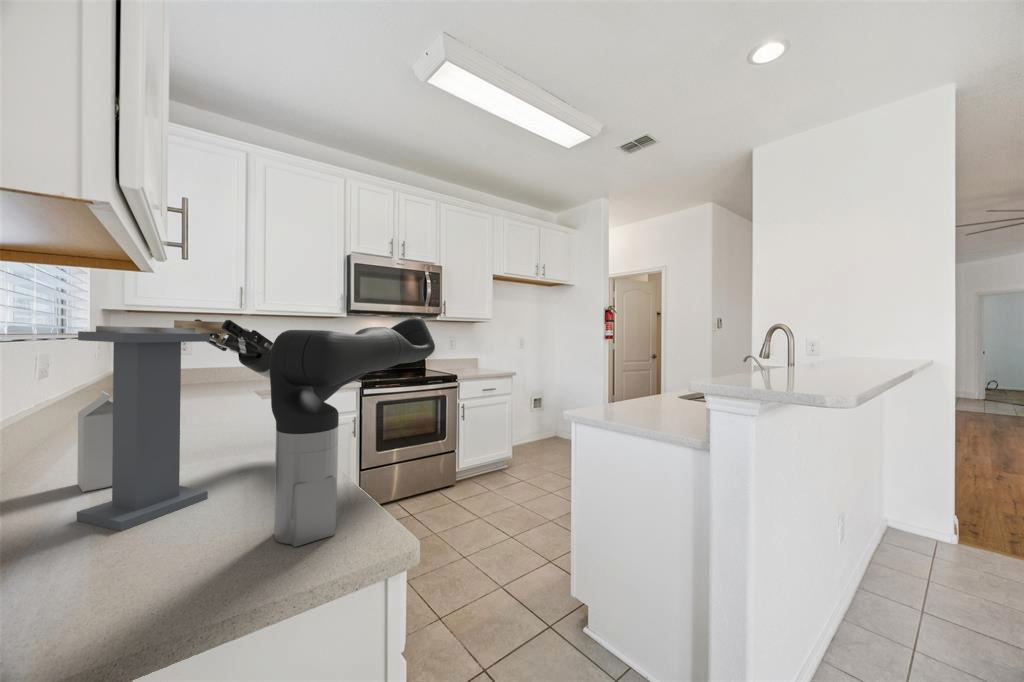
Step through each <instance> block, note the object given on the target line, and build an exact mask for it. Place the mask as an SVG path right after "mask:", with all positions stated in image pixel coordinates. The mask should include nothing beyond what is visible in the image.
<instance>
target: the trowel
mask: <svg viewBox="0 0 1024 682" xmlns="http://www.w3.org/2000/svg"><path fill="white" fill-rule="evenodd" d="M224 322H225V321H206V320H204V321H203V320H201V321H194V320H179V319H177V320H173V327H169V326H167V327H163V326H162V327H161V326H160V327H159V326H118V325H116V326H114V325H113V326H112V325H108V326H106V325H95V332H112V333H217V334H218V333H228V332H226V331H225V330H223V329H222V325H223V324H224Z"/></svg>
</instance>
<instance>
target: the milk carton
mask: <svg viewBox="0 0 1024 682" xmlns="http://www.w3.org/2000/svg"><path fill="white" fill-rule="evenodd" d="M112 457H113V400H110V394H109V393H107V392H106V391H104V390H102V391H101V396H100V397H98V398H96V399H95V400H94V401H92V402H91V403H90V404H88V405H86V406H85V407H83V408H82V409H80V410H79V411H77V485H78V487H79V488H80V490H81V492H83V493H84V492H89V491H95V490H101V489H104V488H110V487H112Z"/></svg>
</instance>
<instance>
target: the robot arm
mask: <svg viewBox="0 0 1024 682" xmlns="http://www.w3.org/2000/svg"><path fill="white" fill-rule="evenodd" d="M193 321H202V320H201V319H198V318H197V319H194V320H193ZM223 322H224V324H223V325H222V329H223V330H225V331H226V332H228V333H202V334H210V342H207V343H208V344H210V345H211V346H214V347H216V349H219V350H220V351H222V352H226V351H227V350H229V351H230V352H232V353H235V354H238V361H239V363H240V364H241V365H243V366H244V367H247V368H249V369H250V370H252V371H254V373H257V374H259V375H261V376H263V377H264V378H266V379H269V381H270V382H269V383H270V403H271V404H270V405H271V412H272V414H273V417H274V421H275V452H274V454H275V456H274V457H275V458H274V459H275V461H274V465H275V466H274V473H275V474H274V528H273V529H274V531H273V532H274V533H273V534H274V535H273V536H274V539H275V540H276V541H277V542H279V543H281V544H287V545H292V546H293V547H295V548H296V547H299V546H302V545H305V544H309V543H312V542H315V541H319V540H322V539H326V538H329V537H332V536H335V535H336V529H337V519H338V517H337V516H338V515H337V513H338V467H339V466H338V465H339V463H338V462H339V460H338V459H339V457H338V456H339V455H338V454H339V421H340V420H339V411H338V409H337V408H336V407H334V406H333V405H331V404H329V403H327V402H325V401H327V400H328V399H330V398H331V397H332V396H333V395H334V394H335V393H337V392H338V391H339V390H340V389H342V387H344V386H346V385H348V384H350V383H352V382H354V381H357V380H359V379H361V378H362V377H364V376H365V375H366V374H367V373H371V372H377V371H381V370H386V369H388V368H391V367H394V366H397V365H401V364H408V363H416V362H419V361H422V360H424V359H425V360H426V358H428V357H429V356H431V355H432V354H433V353H434V352H435V348H436V344H435V341H434V339H433V336H432V335H431V332H430V330H429V328H428V326H427V324H426V322H425V320H424V318H423V317H419V316H416V317H412V318H411V317H410V318H407V319H405V320H403V321H401V322H399V323H397V324H396V325H394V326H392V327H387V326H374V327H373V326H372V327H365V328H362V329H359V330H358V331H357V332H355V333H346V332H341V331H340V332H338V331H332V330H324V329H323V330H320V329H319V330H318V329H288V330H285V331H283V332H281V333H280V334H278V336H277V337H276V338H275V340H274V342H272V341H271V340H269V338H267V337H266V336H264V335H263V334H261V333H260V332H259V331H257V330H255V329H252V330H251V331H250V330H249V329H248V328H245V327H244V328H243V327H242V326H240V325H239V324H237V323H235V322H234V321H233V320H231V319H225V321H223ZM226 336H227V337H226Z"/></svg>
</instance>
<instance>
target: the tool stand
mask: <svg viewBox="0 0 1024 682" xmlns="http://www.w3.org/2000/svg"><path fill="white" fill-rule="evenodd" d="M77 341H84V342H85V341H86V342H103V343H105V342H107V343H113V351H112V352H113V355H112V356H113V357H112V358H113V360H112V361H113V362H112V365H113V368H112V369H113V371H112V373H113V375H112V378H113V380H112V401H113V457H112V486H111V490H112V491H111V500H110V501H107V502H103V503H100V504H97V505H94V506H91V507H87V508H85V509H81V510H77V511H76V521H77V522H82V523H86V524H89V525H93V526H98V527H102V528H107V529H110V530H114V531H119V532H123V531H125V530H128V529H131V528H133V527H136V526H139V525H141V524H143V523H146V522H149V521H153V520H154V519H157V518H160V517H162V516H163V517H164V516H165V515H168V514H170V513H174V512H175V511H178V510H180V509H183V508H186V507H189V506H191V505H194V504H197V503H199V502H202V501H205V500H207V499H208V495H209V491H208V490H206V489H199V488H195V487H194V488H193V487H189V486H184V485H183V486H182V485H180V468H181V467H180V465H181V463H180V458H181V457H180V455H181V450H180V449H181V390H182V389H181V388H182V387H181V386H182V385H181V383H182V382H181V377H182V376H181V375H182V374H181V373H182V372H181V371H182V370H181V369H182V343H192V342H193V343H195V342H196V343H197V342H198V343H199V342H201V343H202V342H204V343H205V342H206V343H208V342H210V334H202V333H112V332H96V331H77Z"/></svg>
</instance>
